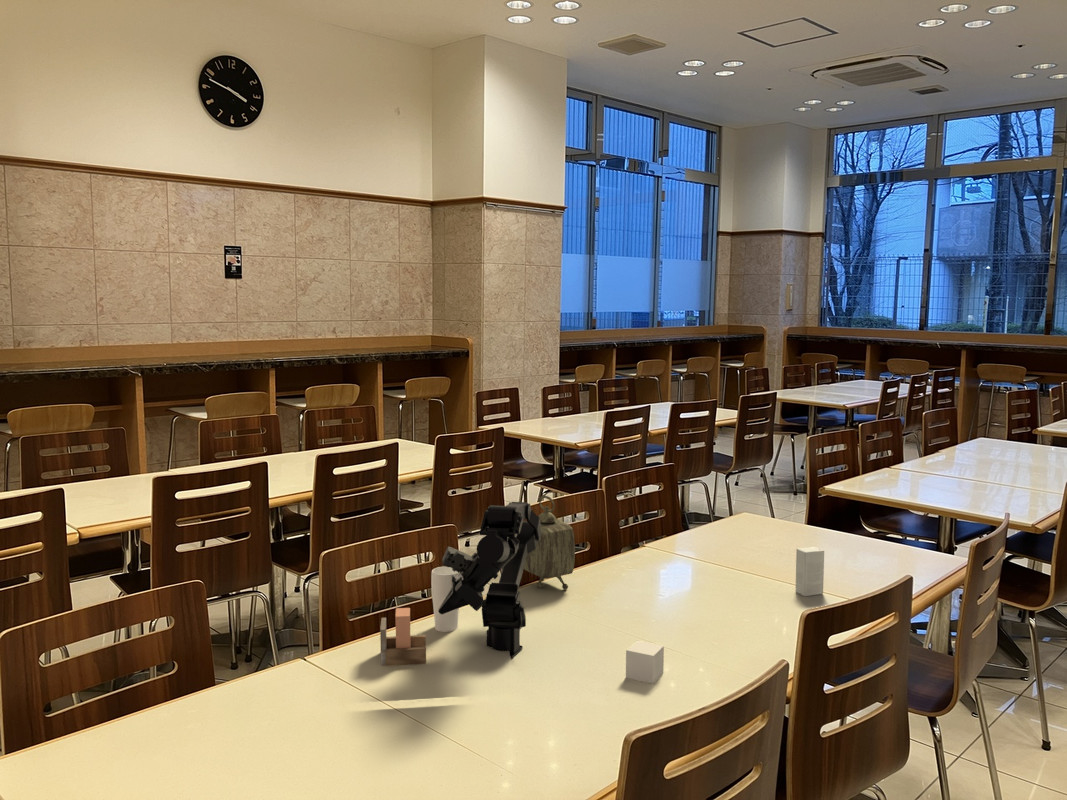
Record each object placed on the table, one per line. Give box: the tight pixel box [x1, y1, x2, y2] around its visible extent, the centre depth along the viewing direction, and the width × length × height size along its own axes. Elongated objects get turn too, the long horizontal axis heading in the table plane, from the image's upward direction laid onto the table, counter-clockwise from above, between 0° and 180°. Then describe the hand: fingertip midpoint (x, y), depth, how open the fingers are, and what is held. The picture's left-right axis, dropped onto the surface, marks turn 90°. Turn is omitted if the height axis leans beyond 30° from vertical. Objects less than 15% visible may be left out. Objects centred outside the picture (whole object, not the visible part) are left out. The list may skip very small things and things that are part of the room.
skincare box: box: [795, 546, 825, 597], centre depth 233 cm, size 6×4×12 cm
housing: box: [379, 617, 427, 667], centre depth 187 cm, size 10×8×9 cm
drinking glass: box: [430, 565, 460, 633], centre depth 204 cm, size 7×7×15 cm
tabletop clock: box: [523, 495, 576, 591], centre depth 237 cm, size 14×9×25 cm, turn 34°
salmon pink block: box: [395, 607, 411, 649], centre depth 187 cm, size 3×5×10 cm, turn 8°
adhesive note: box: [625, 640, 665, 684], centre depth 182 cm, size 6×6×6 cm
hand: (439, 612), depth 188 cm, fingers closed
